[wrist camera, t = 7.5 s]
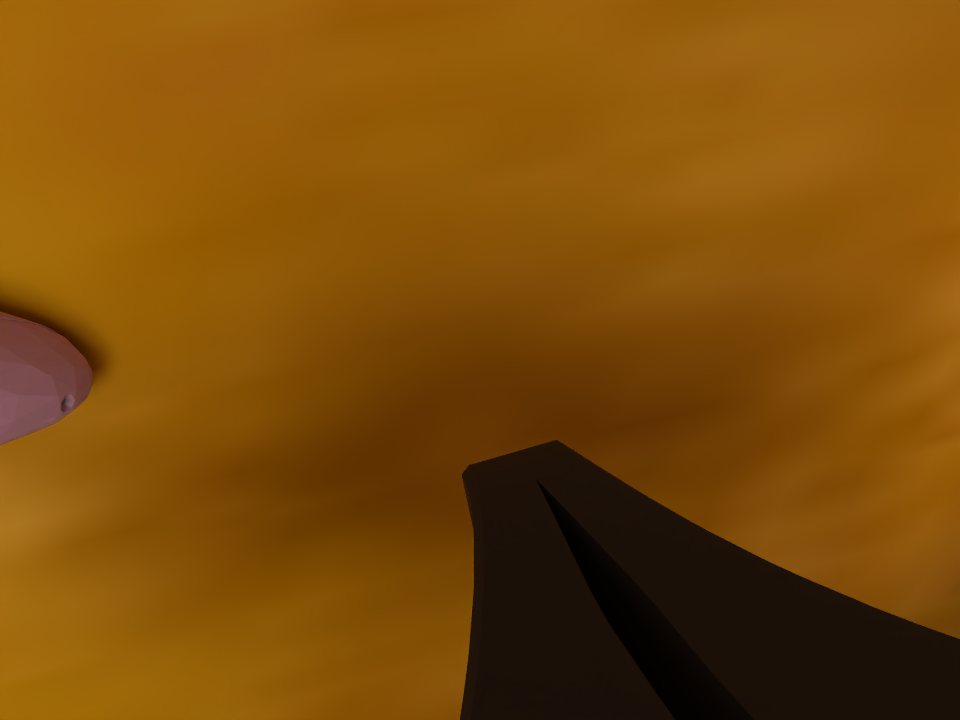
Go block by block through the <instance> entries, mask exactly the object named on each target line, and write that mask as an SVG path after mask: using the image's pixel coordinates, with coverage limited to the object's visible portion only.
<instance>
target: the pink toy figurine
mask: <svg viewBox="0 0 960 720" xmlns="http://www.w3.org/2000/svg"><path fill="white" fill-rule="evenodd" d="M92 383H93V371H92V369H91V367H90V366H89V364H88V362H87V360H86V358H85V357H84V356H83V355H82V354H81V353H80V352H79V351H78V350H77V349H76V348H75V347H74V346H73V345H72V344H71V343H70V342H69V341H68V340H67V339H66V338H65V337H64V336H61V335H59V334H58V333H57V332H55V331H54V330H52V329H50V328H48V327H46V326H44V325H41V324H38V323H35V322H32V321H29V320H26V319H23V318H20V317H17V316H13V315H10V314H7V313H3V312H0V445H1V444H4V443H7V442H9V441H12V440H14V439H17V438H20V437H22V436H25V435H27V434H30V433H32V432H35V431H38V430H40V429H43V428H45V427H47V426H50V425H52V424H54V423H56V422H57V421H59V420H60V419H62V418H63V417H64V416H66V415H67V414H69V413H70V412H72V411H73V410H74V409H76V408H77V407H78V406H79V405H80V404H81V403H82V402H83V401H84V400H85V399H86V398H87V396H88V394H89V391H90V388H91V386H92Z"/></svg>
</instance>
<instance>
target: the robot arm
mask: <svg viewBox="0 0 960 720" xmlns="http://www.w3.org/2000/svg"><path fill="white" fill-rule="evenodd" d="M462 478H463V483H464V488H465V492H466V497H467V501H468V506H469V511H470V515H471V520H472V525H473V530H474V595H473V608H472V621H471V633H470V646H469V656H468V665H467V673H466V681H465V689H464V696H463V703H462V709H461V716H460V720H960V639H958V638H955V637H952V636H949V635H946V634H943V633H941V632H938V631H935V630H932V629H929V628H926V627H924V626H921V625H918V624H916V623H913V622H910V621H908V620H905V619H903V618H900V617H897V616H895V615H892V614H890V613H887V612H884V611H882V610H879V609H877V608H874V607H872V606H869V605H867V604H865V603H862V602H860V601H857V600H855V599H853V598H850V597H848V596H846V595H843V594H841V593H839V592H836V591H834V590H831V589H829V588H827V587H824V586H822V585H820V584H817V583H815V582H813V581H810V580H808V579H806V578H803V577H801V576H799V575H796V574H794V573H792V572H790V571H788V570H786V569H783V568H781V567H779V566H777V565H775V564H773V563H771V562H768V561H766V560H764V559H762V558H760V557H758V556H756V555H754V554H752V553H750V552H748V551H746V550H744V549H742V548H740V547H738V546H736V545H734V544H732V543H730V542H728V541H727V540H725V539H723V538H721V537H719V536H717V535H715V534H713V533H711V532H709V531H707V530H705V529H703V528H702V527H700V526H698V525H696V524H694V523H692V522H690V521H689V520H687V519H685V518H683V517H682V516H680V515H678V514H677V513H675V512H673V511H671V510H670V509H668V508H666V507H664V506H663V505H661V504H659V503H657V502H656V501H654V500H652V499H650V498H649V497H647V496H645V495H644V494H642V493H641V492H639V491H637V490H636V489H634V488H632V487H631V486H629V485H627V484H626V483H624V482H623V481H621V480H619V479H618V478H616V477H615V476H613V475H611V474H610V473H608V472H607V471H605V470H603V469H602V468H600V467H599V466H597V465H596V464H594V463H592V462H591V461H589V460H588V459H586V458H585V457H583V456H581V455H580V454H578V453H577V452H575V451H574V450H572V449H570V448H569V447H567V446H565V445H564V444H562V443H561V442H559V441H557V440H555V441H552V442H548V443H545V444H541V445H538V446H534V447H531V448H527V449H524V450H520V451H517V452H513V453H510V454H506V455H503V456H500V457H496V458H493V459H489V460H486V461H482V462H479V463H475V464H472V465H469V466H468V467H467V469H466V470H465V471H464V473H463V474H462Z"/></svg>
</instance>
